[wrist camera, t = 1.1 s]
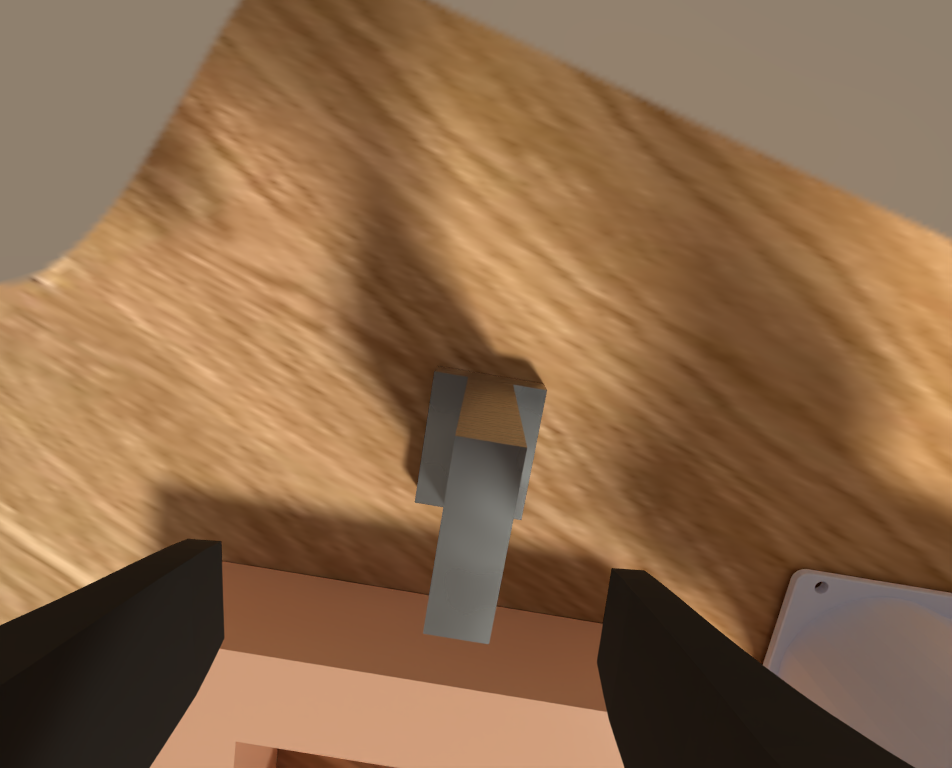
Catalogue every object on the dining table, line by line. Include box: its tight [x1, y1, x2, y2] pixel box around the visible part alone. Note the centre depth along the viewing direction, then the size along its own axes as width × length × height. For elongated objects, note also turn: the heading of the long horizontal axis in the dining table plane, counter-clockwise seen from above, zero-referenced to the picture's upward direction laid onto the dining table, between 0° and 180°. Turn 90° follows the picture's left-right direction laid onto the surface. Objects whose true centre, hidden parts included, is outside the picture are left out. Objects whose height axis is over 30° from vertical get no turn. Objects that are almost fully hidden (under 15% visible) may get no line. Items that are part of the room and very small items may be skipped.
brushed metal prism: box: [415, 366, 547, 644], centre depth 15 cm, size 4×5×8 cm
